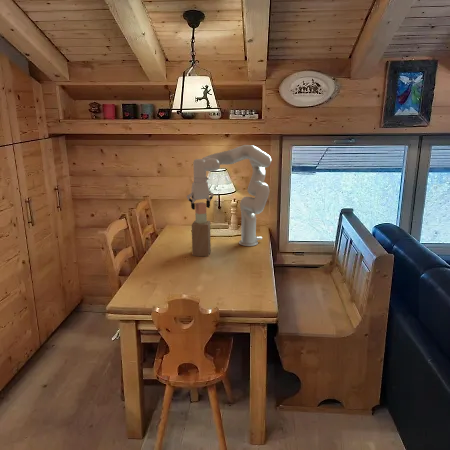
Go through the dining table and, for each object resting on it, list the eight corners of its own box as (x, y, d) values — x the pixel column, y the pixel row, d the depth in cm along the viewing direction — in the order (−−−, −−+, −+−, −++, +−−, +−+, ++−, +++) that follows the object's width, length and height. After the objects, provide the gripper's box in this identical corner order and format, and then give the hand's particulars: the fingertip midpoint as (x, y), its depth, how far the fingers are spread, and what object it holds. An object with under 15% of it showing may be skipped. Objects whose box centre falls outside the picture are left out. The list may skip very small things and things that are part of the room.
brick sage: (202, 221, 258) (202, 211, 256) (206, 222, 253) (206, 213, 252) (195, 222, 255) (195, 212, 254) (199, 223, 251) (199, 214, 250)
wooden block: (210, 251, 264) (210, 220, 258) (208, 256, 254) (208, 224, 249) (195, 250, 265) (194, 220, 259) (192, 256, 255) (191, 224, 250)
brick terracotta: (202, 211, 256) (202, 202, 254) (206, 213, 252) (206, 203, 250) (195, 212, 253) (195, 202, 252) (198, 214, 249) (198, 204, 248)
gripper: (210, 178, 254) (211, 205, 259) (184, 180, 247) (185, 208, 251) (216, 179, 248) (216, 208, 252) (189, 182, 240) (189, 211, 245)
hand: (200, 208), depth 252 cm, fingers open, 9 cm apart
